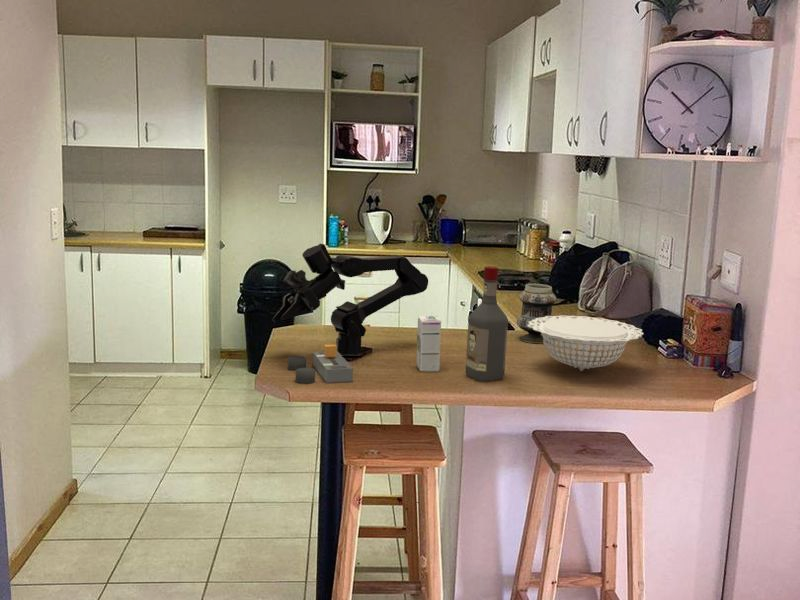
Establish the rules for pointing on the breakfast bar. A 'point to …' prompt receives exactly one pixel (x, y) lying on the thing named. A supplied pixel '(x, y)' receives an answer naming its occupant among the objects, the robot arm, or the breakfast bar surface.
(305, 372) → the coil
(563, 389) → the breakfast bar surface
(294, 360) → the coil
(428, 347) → the syrup box
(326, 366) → the grey flat block
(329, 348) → the orange upright box
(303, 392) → the breakfast bar surface
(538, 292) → the apothecary jar
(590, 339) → the colander
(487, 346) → the liquor
